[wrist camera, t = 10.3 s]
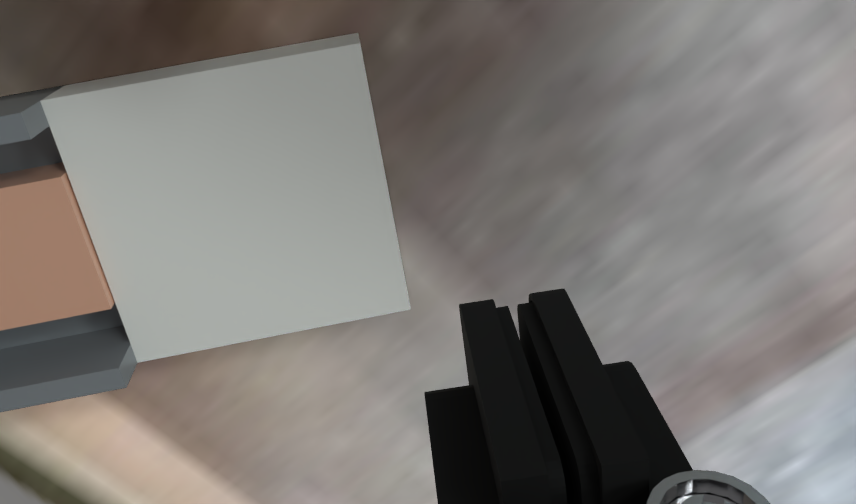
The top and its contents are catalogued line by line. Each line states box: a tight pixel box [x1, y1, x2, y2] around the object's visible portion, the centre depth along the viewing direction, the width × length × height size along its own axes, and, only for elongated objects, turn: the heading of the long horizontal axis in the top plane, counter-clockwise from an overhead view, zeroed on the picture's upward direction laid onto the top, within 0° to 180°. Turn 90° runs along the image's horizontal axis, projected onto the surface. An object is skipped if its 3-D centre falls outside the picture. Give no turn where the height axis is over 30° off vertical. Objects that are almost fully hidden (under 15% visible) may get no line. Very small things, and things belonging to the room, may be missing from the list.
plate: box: [40, 33, 411, 363], centre depth 33 cm, size 12×12×3 cm
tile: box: [0, 162, 115, 331], centre depth 32 cm, size 6×6×2 cm
